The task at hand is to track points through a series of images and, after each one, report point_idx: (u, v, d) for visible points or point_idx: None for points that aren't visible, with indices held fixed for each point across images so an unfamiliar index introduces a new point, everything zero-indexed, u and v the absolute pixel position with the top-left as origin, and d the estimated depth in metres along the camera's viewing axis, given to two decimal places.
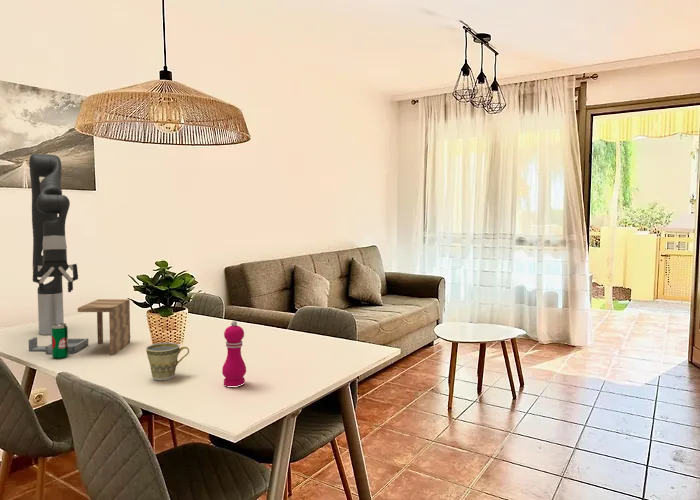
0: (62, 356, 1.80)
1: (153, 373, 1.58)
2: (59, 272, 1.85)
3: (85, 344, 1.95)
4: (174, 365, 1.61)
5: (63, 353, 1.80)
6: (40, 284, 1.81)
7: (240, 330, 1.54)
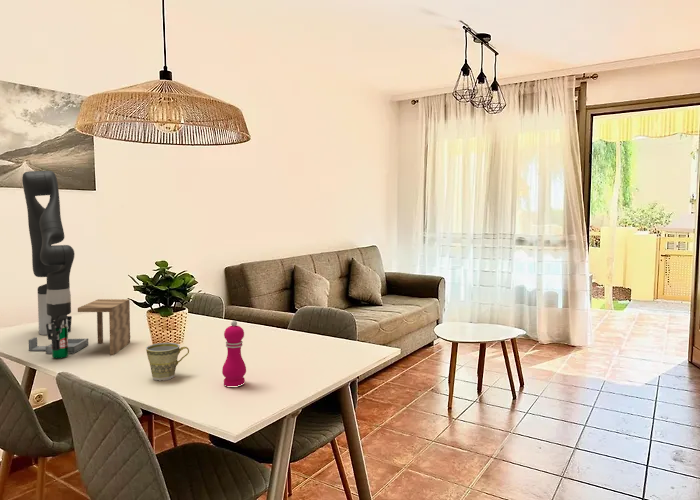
0: (62, 356, 1.80)
1: (153, 373, 1.58)
2: (63, 324, 1.81)
3: (85, 344, 1.95)
4: (174, 364, 1.61)
5: (63, 353, 1.80)
6: (57, 341, 1.78)
7: (240, 330, 1.54)
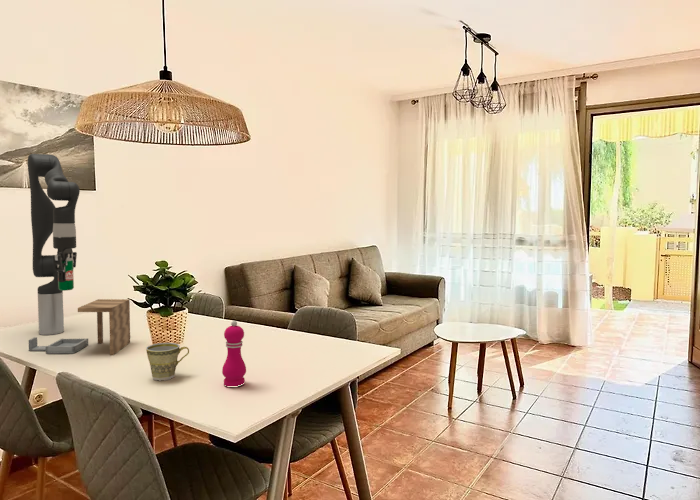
0: (68, 288, 1.88)
1: (153, 373, 1.58)
2: None
3: (85, 344, 1.95)
4: (174, 365, 1.61)
5: (68, 285, 1.88)
6: (63, 272, 1.86)
7: (240, 330, 1.54)
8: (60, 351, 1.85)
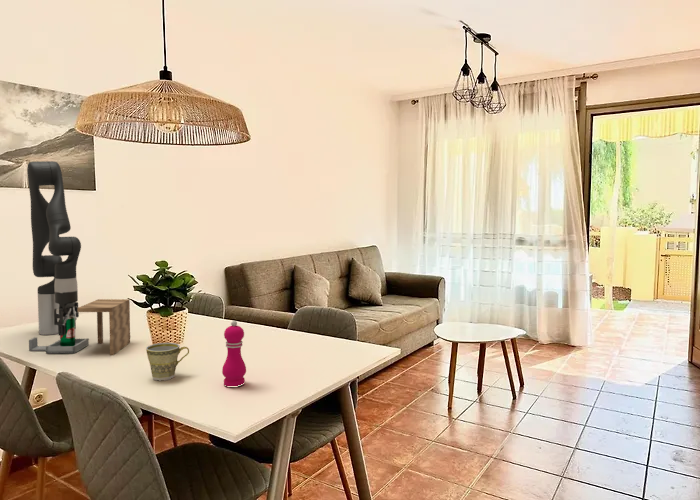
0: (70, 345, 1.90)
1: (153, 373, 1.58)
2: (71, 312, 1.91)
3: (85, 344, 1.95)
4: (174, 365, 1.61)
5: (70, 343, 1.90)
6: (62, 326, 1.86)
7: (240, 330, 1.54)
8: (60, 351, 1.85)
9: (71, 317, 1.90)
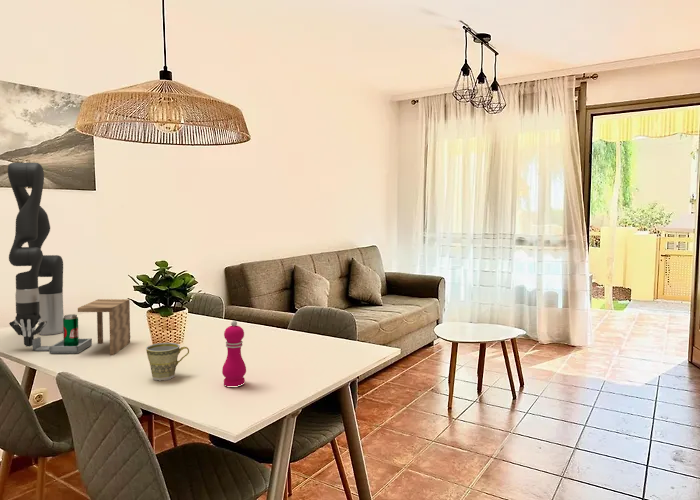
0: (73, 345, 1.90)
1: (153, 373, 1.58)
2: None
3: (89, 344, 1.95)
4: (174, 365, 1.61)
5: (74, 343, 1.90)
6: None
7: (240, 330, 1.54)
8: (64, 351, 1.85)
9: (74, 317, 1.90)
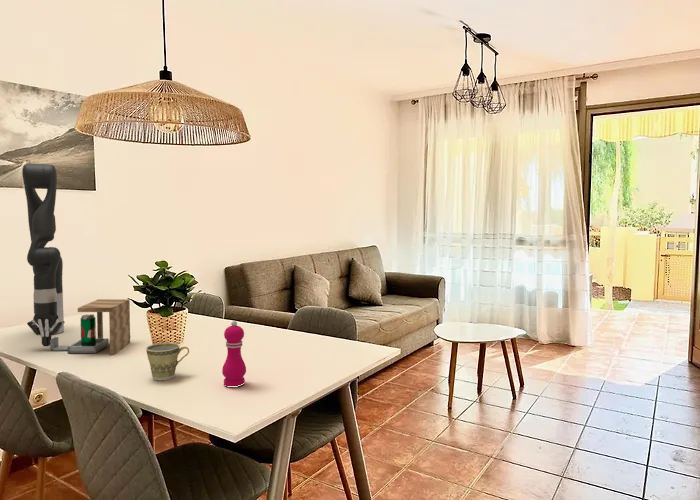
0: (90, 345, 1.90)
1: (153, 373, 1.58)
2: None
3: (106, 344, 1.96)
4: (174, 365, 1.61)
5: (91, 343, 1.90)
6: None
7: (240, 330, 1.54)
8: (82, 351, 1.86)
9: (92, 317, 1.90)
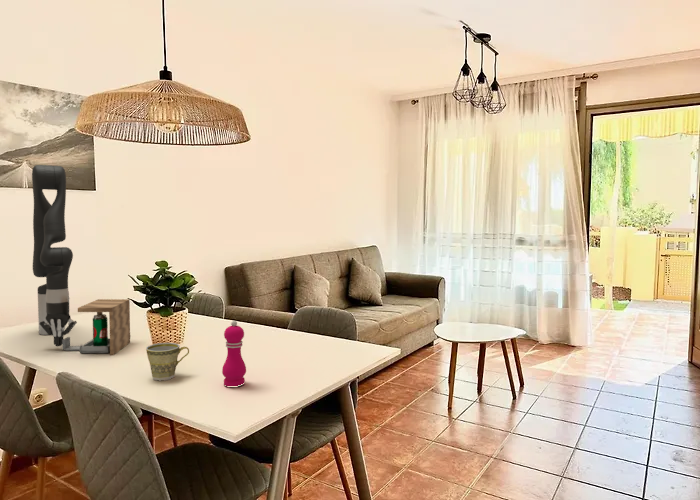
0: (103, 345, 1.91)
1: (153, 373, 1.58)
2: None
3: None
4: (174, 365, 1.61)
5: (103, 343, 1.91)
6: None
7: (240, 330, 1.54)
8: (94, 351, 1.86)
9: (104, 317, 1.91)
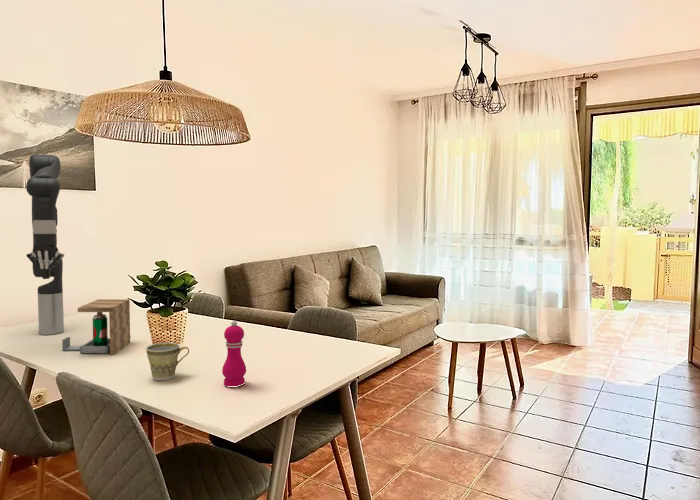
0: (102, 345, 1.91)
1: (153, 373, 1.58)
2: None
3: None
4: (174, 365, 1.61)
5: (103, 343, 1.91)
6: None
7: (240, 330, 1.54)
8: (94, 351, 1.86)
9: (104, 317, 1.91)
